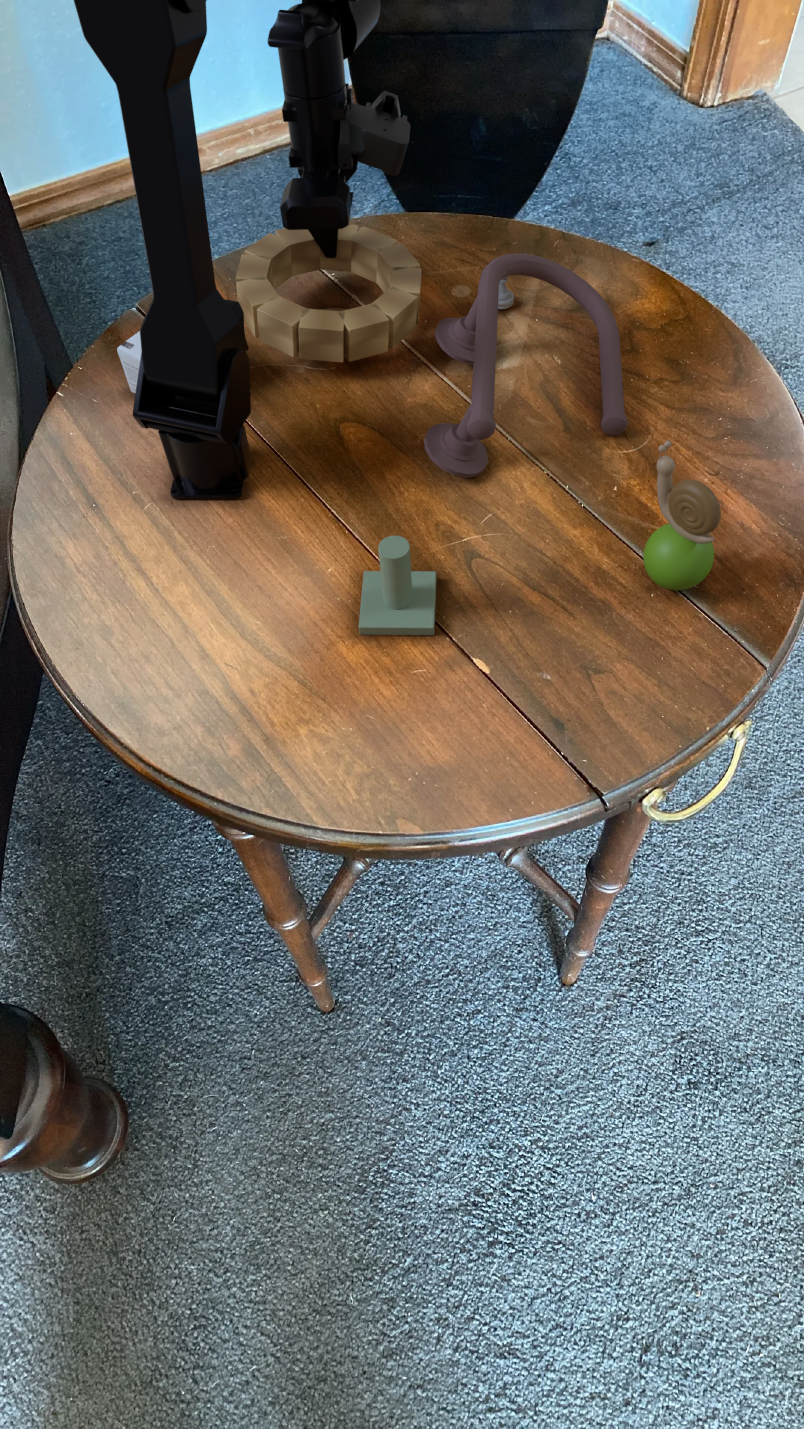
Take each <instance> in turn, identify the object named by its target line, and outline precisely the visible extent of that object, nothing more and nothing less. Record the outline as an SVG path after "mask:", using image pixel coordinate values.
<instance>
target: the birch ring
mask: <svg viewBox="0 0 804 1429" xmlns="http://www.w3.org/2000/svg"><path fill="white" fill-rule="evenodd" d="M320 270H321V271H332V272H333V271H335V272H345V273H346V272H347V273H352V274H355V275H357V276H359V277H361V278H364V279H367V281H370V282H372V283H375V284H376V285H377V286H378V287H379V288H380V289H381V292H383V293H382V294H381V295H380V296H379V297H377V298H376V299H375V300H374V301H373V302H371V303H369V304H365V305H364V304H363V305H360V306H357V307H353V308H349V309H345V311H330V310H322V309H316V308H306V307H304V306H303V305H301V304H297V303H296V302H294V301H292V300H290V299H287V298H285V297H282V296H280V295H279V293H278V292H277V290H276V289H278V288H279V287H280V286H281V285H283V284H284V283H285V282H286V281H288V280H289V279H290V278H292V277H295V276H299V275H304V274H308V273H312V272H316V271H320ZM422 271H423V269H422V268H421V264H420V263H419V262H418V260H417V259H416V258H415V257H414V256H413V254H411V251H409V250H408V249H407V248H406V246H405V245H404V244H403V243H402V242H400V243H398V240H397V239H395V238H394V237H391V236H389V235H386V234H384V233H381V232H379V231H376V230H374V229H371V228H369V227H367V226H362V227H361V228H359V225H358V224H350V223H349V226H347V227H345V228H343V229H339V232H338V245H337V255H336V257H335V258H326V257H325V255H324V254H323V252H322V251H321V249H320V248H319V246H318V245H317V243H316V241H315V240H314V238H313V237H312V235H311V234H310V232H309V231H308V230H287V229H286V228H284V227H282V228H279V229H275V230H274V233H272V232H269V233H267V234H266V235H263V237H261V238H260V239H259V240H257V241H256V242H255V243H253V244H252V245H251V246H249V247H247V248H246V249H245V250H244V253H242V254H241V255H240V260H239V264H238V267H237V272H236V276H235V286H236V297H237V302H239V303H240V305H241V308H242V310H243V312H244V324H245V325H246V326H247V328H248V329H249V330H250V332H251V334H252V336H254V338H255V339H257V338H258V342H260V343H262V344H264V345H266V346H268V347H271V348H273V349H275V350H277V351H279V352H280V353H283V354H285V355H287V356H290V357H292V358H295V357H296V356H297V355H299V359H300V360H308V361H320V362H334V363H344V360H345V359H344V358H346V360H347V361H348V362H354V361H358V360H362V359H366V358H369V357H372V356H376V355H380V354H384V353H387V352H389V348H390V349H394V348H396V347H397V346H398V345H399V344H400V343H401V342H402V341H403V340H404V339H406V338H407V336H409V335H410V334H412V332H413V331H414V330H416V326H418V324H419V313H420V301H421V300H420V299H421V286H422V273H423V272H422Z"/></svg>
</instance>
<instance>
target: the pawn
mask: <svg viewBox="0 0 804 1429" xmlns="http://www.w3.org/2000/svg"><path fill="white" fill-rule="evenodd" d="M508 282H509V276H507V277H505V278H502V280H501V281H500V283H499V296H498V310H506V309H510V308H511V307H512V306H513V304H514V300H515V294H514V293H513V292H512V291H511V290H510V289H509V288H507V283H508Z"/></svg>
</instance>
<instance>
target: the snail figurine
mask: <svg viewBox="0 0 804 1429" xmlns="http://www.w3.org/2000/svg"><path fill="white" fill-rule="evenodd" d="M672 445H673V443H672V441H671V440H666V441H665V442H664V444H660V445H659V447H658V450H657V451H658V452H659V458H658V459H657V461H656V462H657V463H656V471H657V477H656V478H657V479H656V493H657V501H658V506H659V510H660V512H661V515H662V516H663V517H664V519H665V520H666V521H667V522H668V523H666V524H663V525H661V526H660V527H659V528H657V529H656V530H654V532H653V533H651V535H650V536H649V538H648V539H647V541H646V544H645V545H644V549H643V555H642V556H643V558H642V560H643V565H644V568H645V571H646V573H647V575H648V577H649V578H650V580H652V581H653V582H654V583H655V584H656V585H658V586H659V587H661V588H663V589H666V590H669V591H685V590H688V589H692V588H693V587H696V586H697V585H699V584H700V583H701V582H703V581H704V580H705V579H706V577H707V576H708V575H709V573H711V570H712V568H713V565H714V562H715V561H714V560H715V548H714V544H713V542H714V541H715V537H714V536H713V535H712V534H711V533H712V532H714V531H715V530H716V529H717V528H718V526H719V525H720V521H721V517H722V511H721V510H722V509H721V505H720V501H719V500H718V498H717V496H716V495H715V492H713V490H712V489H711V488H710V487H709V486H707V485H706V484H705V483H703V482H701V481H699V480H695V479H684V480H683V479H682V480H681V481H678V482H677V483H675V485H674V483H673V482H674V480H673V473H674V471H675V469H676V462H675V460H674V459H673V457H671V456H669V455H667V451H668V449H670V448H671V447H672ZM662 453H664V455H662Z"/></svg>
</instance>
